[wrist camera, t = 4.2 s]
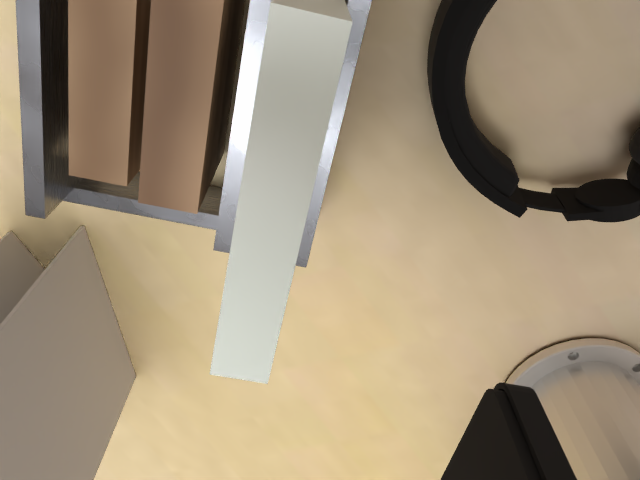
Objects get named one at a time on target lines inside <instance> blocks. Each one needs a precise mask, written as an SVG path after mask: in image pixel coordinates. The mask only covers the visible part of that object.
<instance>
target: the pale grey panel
mask: <svg viewBox="0 0 640 480" xmlns="http://www.w3.org/2000/svg"><path fill="white" fill-rule="evenodd" d="M351 27H352V19H351V16H350V13H349V10H348V8H347V5H346V2H345V0H272V1H271V3H270V10H269V16H268V22H267V28H266V34H265V40H264V46H263V52H262V58H261V65H260V71H259V77H258V83H257V89H256V95H255V101H254V107H253V113H252V120H251V126H250V132H249V138H248V144H247V150H246V156H245V162H244V168H243V175H242V181H241V187H240V193H239V199H238V205H237V211H236V217H235V223H234V230H233V236H232V242H231V248H230V254H229V260H228V266H227V272H226V278H225V285H224V291H223V297H222V303H221V309H220V315H219V321H218V327H217V333H216V340H215V346H214V352H213V358H212V364H211V370H210V375H216V376H223V377H229V378H235V379H241V380H247V381H253V382H259V383H265V384H268V380H269V376H270V371H271V367H272V363H273V359H274V354H275V350H276V346H277V342H278V337H279V333H280V329H281V325H282V320H283V316H284V312H285V308H286V303H287V299H288V295H289V291H290V286H291V282H292V278H293V274H294V269H295V265H296V261H297V257H298V252H299V248H300V244H301V240H302V235H303V231H304V227H305V222H306V218H307V214H308V210H309V205H310V201H311V197H312V193H313V188H314V184H315V180H316V176H317V171H318V167H319V163H320V159H321V154H322V150H323V146H324V142H325V137H326V133H327V129H328V125H329V120H330V116H331V112H332V108H333V103H334V99H335V95H336V91H337V86H338V82H339V78H340V73H341V69H342V65H343V61H344V56H345V52H346V48H347V44H348V39H349V35H350V31H351Z"/></svg>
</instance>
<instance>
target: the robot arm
mask: <svg viewBox="0 0 640 480" xmlns="http://www.w3.org/2000/svg"><path fill="white" fill-rule="evenodd" d="M441 480H640V353H639V352H638V351H636V350H634V349H633V348H631V347H630V346H628V345H625V344H623V343H620V342H617V341H613V340H607V339H597V338H586V339H578V340H571V341H567V342H563V343H560V344H556V345H554V346H551V347H549V348H546V349H544V350H542V351H540V352H538V353H537V354H535V355H533V356H532V357H530V358H528V359H527V360H526V361H525V362H524V363H522V364H521V365H520V366H519V367H517V369H516V370H515V371H514V372H513V373H512V374H511V375H510V377H509V378H508V380H507V381H506V383H499V384H497V385H496V386H495V388H494V389H488V390H486V392H485V393H484V395H483V397H482V399H481V401H480V403H479V405H478V407H477V409H476V411H475V413H474V415H473V417H472V419H471V421H470V423H469V425H468V427H467V429H466V431H465V433H464V435H463V437H462V438H461V440H460V442H459V444H458V446H457V448H456V450H455V452H454V454H453V456H452V458H451V460H450V462H449V464H448V466H447V468H446V470H445V472H444V474H443V476H442V478H441Z"/></svg>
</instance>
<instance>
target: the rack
mask: <svg viewBox="0 0 640 480" xmlns="http://www.w3.org/2000/svg"><path fill="white" fill-rule="evenodd" d="M271 1H272V0H250V4H249V11H248V18H247V25H246V32H245V39H244V45H243V52H242V59H241V66H240V73H239V80H238V86H237V93H236V100H235V107H234V114H233V121H232V127H231V134H230V141H229V148H228V155H227V162H226V168H225V175H224V182H223V188H220V187H215V186H209V188H208V190H207V193H206V195H205V197H204V200H203V202H202V204H201V207H200V209H199V211H198V214H194V213H189V212H184V211H179V210H174V209H168V208H163V207H158V206H153V205H148V204H142V203H138V195H139V179H140V172H139V171H138V173H137V174H136V175H135V177H134V178H133V179H132V180H131V182H130V183H129V184H128V186H122V185H116V184H111V183H106V182H101V181H96V180H91V179H86V178H81V177H76V176H71V175H69V99H68V0H16V18H17V40H18V61H19V83H20V105H21V126H22V148H23V169H24V191H25V212H26V215H28V216H34V217H39V218H44V219H45V218H46V217H47V216H48V215H49V214H50V213H51V212H52V211H53V210H54V209H55V208H56V207H57V206H58V205H59V203H60V202H61V201H67V202H73V203H78V204H83V205H88V206H94V207H99V208H104V209H109V210H114V211H120V212H125V213H130V214H135V215H141V216H146V217H151V218H156V219H162V220H167V221H172V222H177V223H183V224H188V225H193V226H198V227H204V228H209V229H214V230H216V237H215V243H214V250H216V251H221V252H226V253H230V248H231V242H232V236H233V230H234V223H235V217H236V211H237V205H238V199H239V193H240V187H241V181H242V175H243V168H244V162H245V156H246V150H247V144H248V138H249V132H250V126H251V120H252V113H253V107H254V101H255V95H256V89H257V83H258V77H259V71H260V65H261V58H262V52H263V46H264V40H265V34H266V28H267V22H268V16H269V10H270V3H271ZM345 2H346V5H347V8H348V10H349V13H350V16H351V19H352V27H351V31H350V35H349V39H348V44H347V48H346V52H345V56H344V61H343V65H342V69H341V73H340V78H339V82H338V86H337V91H336V95H335V99H334V103H333V108H332V112H331V116H330V120H329V125H328V129H327V133H326V137H325V142H324V146H323V150H322V154H321V159H320V163H319V167H318V171H317V176H316V180H315V184H314V188H313V193H312V197H311V201H310V205H309V210H308V214H307V218H306V222H305V227H304V231H303V235H302V240H301V244H300V248H299V252H298V257H297V261H296V266H301V267H306V266H307V262H308V258H309V254H310V250H311V245H312V241H313V237H314V233H315V229H316V225H317V221H318V217H319V213H320V209H321V205H322V201H323V197H324V193H325V189H326V185H327V181H328V177H329V172H330V168H331V164H332V160H333V156H334V152H335V148H336V144H337V140H338V136H339V132H340V128H341V124H342V120H343V116H344V112H345V108H346V104H347V100H348V95H349V91H350V87H351V83H352V79H353V75H354V71H355V67H356V63H357V59H358V55H359V51H360V47H361V43H362V39H363V35H364V31H365V27H366V22H367V18H368V14H369V10H370V6H371V2H372V0H345Z"/></svg>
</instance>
